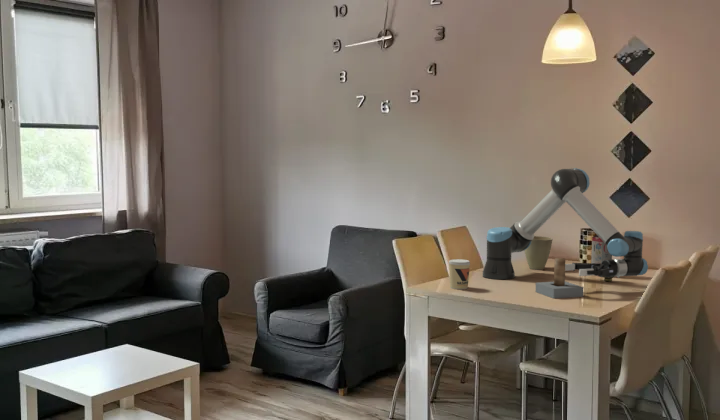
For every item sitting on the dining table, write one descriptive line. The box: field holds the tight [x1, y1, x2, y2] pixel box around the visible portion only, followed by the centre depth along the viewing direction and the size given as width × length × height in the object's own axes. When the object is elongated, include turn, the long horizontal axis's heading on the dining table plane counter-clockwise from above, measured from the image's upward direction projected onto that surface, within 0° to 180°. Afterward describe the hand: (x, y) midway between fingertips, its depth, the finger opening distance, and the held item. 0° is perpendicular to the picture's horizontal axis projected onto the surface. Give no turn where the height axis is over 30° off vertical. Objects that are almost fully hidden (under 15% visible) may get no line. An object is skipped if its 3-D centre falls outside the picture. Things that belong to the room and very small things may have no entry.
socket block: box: [535, 281, 584, 299], centre depth 294 cm, size 14×14×4 cm
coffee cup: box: [448, 258, 471, 290], centre depth 307 cm, size 9×9×12 cm
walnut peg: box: [553, 257, 566, 286], centre depth 294 cm, size 4×4×14 cm
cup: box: [600, 264, 615, 283], centre depth 325 cm, size 8×7×8 cm
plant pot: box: [523, 235, 553, 270], centre depth 360 cm, size 15×15×16 cm
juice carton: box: [591, 234, 613, 278], centre depth 340 cm, size 7×7×22 cm
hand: (570, 270), depth 295 cm, fingers open, 13 cm apart
